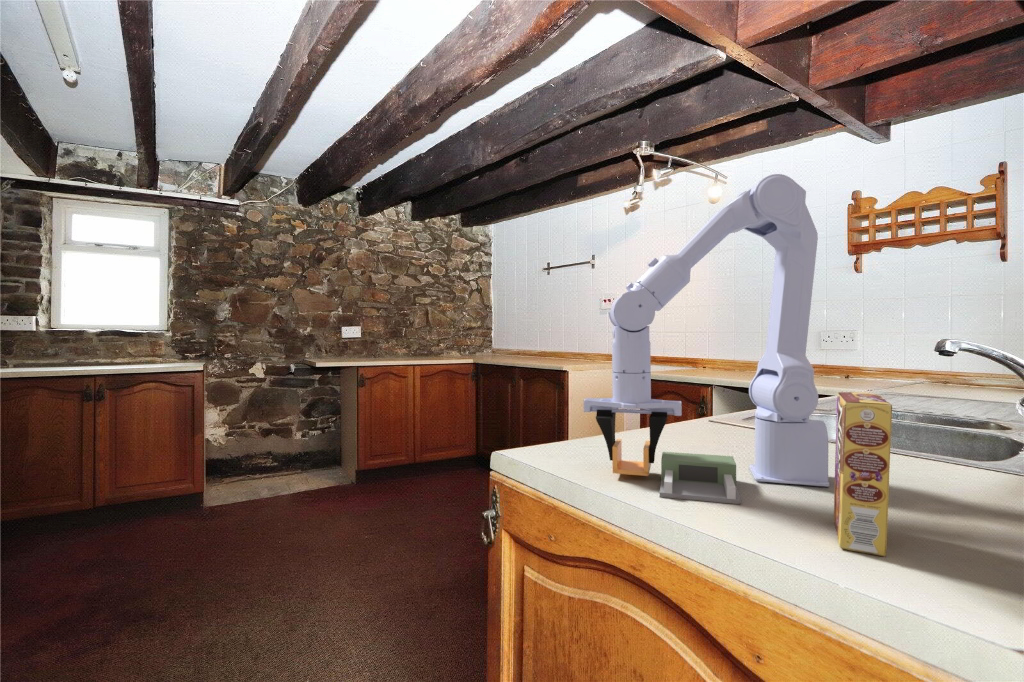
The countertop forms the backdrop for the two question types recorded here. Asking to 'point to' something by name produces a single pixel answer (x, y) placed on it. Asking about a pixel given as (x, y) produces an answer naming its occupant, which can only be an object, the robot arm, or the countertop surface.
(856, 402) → the candy box
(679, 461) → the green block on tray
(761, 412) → the robot arm
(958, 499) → the countertop surface
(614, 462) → the chute
